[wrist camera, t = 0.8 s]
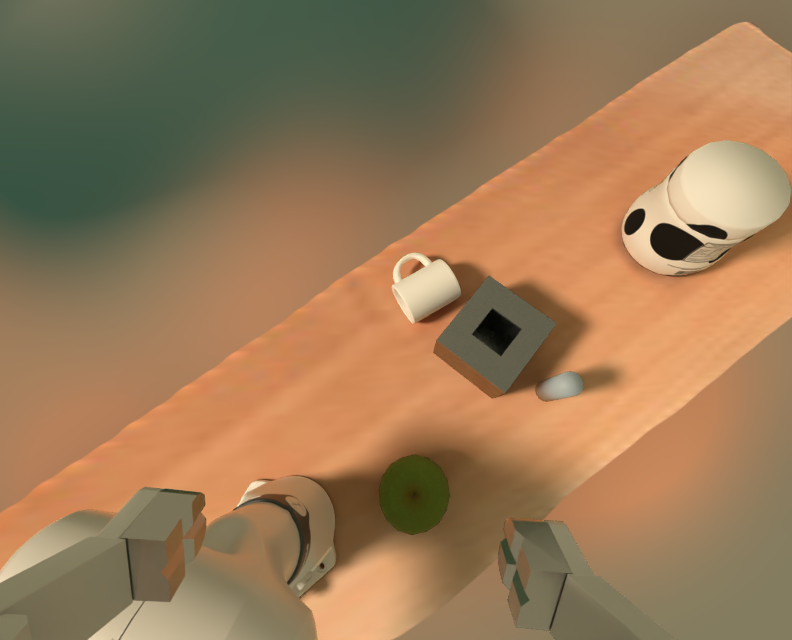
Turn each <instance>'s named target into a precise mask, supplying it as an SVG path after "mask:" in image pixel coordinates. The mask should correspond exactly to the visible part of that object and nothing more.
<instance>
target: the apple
mask: <svg viewBox="0 0 792 640" xmlns="http://www.w3.org/2000/svg"><path fill="white" fill-rule="evenodd" d="M449 497H450V494H449V488H448V481H447V479H446V477H445V475H444V473H443V471H442V469H441V468H440V467H439V466H438V465H437V464H435V463H434V462H433V461H431V460H430V459H429V458H425V457H422V456H419V455H411V456H407V457H402V458H401V459H399V460H397V461H396V462H394V463H392V464H391V465H390V466H389V467H388V469H387V470H386V472H385V473H384V474H383V476H382V479H381V484H380V488H379V498H380V507H381V509H382V511H383V513H384V515H385V518H386V520H387V521H388V522H390V523H391V524H392V525H393V526H394V527H395V528H396V529H397V530H398V531H401V532H404V533H408V534H411V535H414V534H418V533H422V532H426V531H428V530H429V529H431V528H432V527H434V526H435V525H437V524H438V523H439V522H440V520H441V519H442V517H443V515H444V514H445V512H446V511H447V506H448V501H449Z"/></svg>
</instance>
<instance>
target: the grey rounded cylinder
mask: <svg viewBox="0 0 792 640" xmlns="http://www.w3.org/2000/svg"><path fill="white" fill-rule="evenodd" d="M583 386H584V384H583V380H582V378H581V377H580V376H579V375H578V374H577V373H575V372H570V371H569V372H565V373H562V374H559V375H557V376H554V377H551V378H549V379H546V380H544V381H541V382H539V383H538V384H537V386H536V389H535V391H536V395H537V396H538V398H539V399H541V400H542V401H546V402H548V401H553V400H558V399H562V398H567V397H572V396H576V395H578V394H580V393H581V392H582V390H583Z"/></svg>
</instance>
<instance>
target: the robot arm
mask: <svg viewBox="0 0 792 640" xmlns="http://www.w3.org/2000/svg"><path fill="white" fill-rule="evenodd" d="M205 505H206V504H205V494H203V493H201V492H192V491H183V490H174V489H160V488H152V487H144V488H142V489H140V490H139V491H138V492H137V493H136V494H135V495H134V496H133V497H132V498H131V499H130V500H129V501H128V502H127V504H126V505H125V506H124V507H123V508H122V509H121V510H120V511H119V512H118V513H113V512H107V511H101V510H94V509H86V510H81V511H77V512H74V513H72V514H69V515H67V516H65V517H63V518H61V519H58V520H57V521H55V522H53V523H51V524H50V525H48V526H46V527H45V528H43V529H42V530H40V531H39V532H38V533H36V534H35V535H34V536H32V537H31V538H30V539H29V540H28V541H27V542H25V543H24V544H23V545H22V546H21V547H20V548H19V549H18V550H17V551H16V552H15V553H14V554H13V555H12V557H11V558H10V559H9V560H8V561H7V563H6V564H5V565H4V567H3V568H2V569H1V571H0V640H318V639H317V630H316V625H315V620H314V617H313V613H312V611H311V610H310V609H309V608H308V607H307V606H306V605H305V604H304V603H303V602H302V601H301V600H300V599H299V597H300V596H301V595H302V594H303V593H304V592H305V591H307V590H308V589H309V588H310V587H311V586H312V585H313V584H314V583H316V582H317V581H318V580H319V579H320V578H321V577H322V576H323V575H324V574H326V573H327V572H328V571H329V570H330V569H331V568H332V567H333V566H334V565H335V563H336V551H335V547H334V543H333V538H334V530H335V513H334V508H333V505H332V502H331V500H330V498H329V496H328V494H327V493H326V492H325V490H324V489H323V488H322V487H321V486H320V485H319V484H317V483H316V482H314V481H313V480H311V479H308V478H306V477H301V476H288V477H283V478H280V479H277V480H273V481H269V480H255V481H254V482H252V483H251V484H250V485H249V487H248V489H247V490H246V492H245V494H244V495H243V497H242V499H241V500H240V502H239V504H238V506H237V507H236V508H235V509H234V510H233V511H232V512H230V513H227V514H225V515H223V516H221V517H219V518H217V519H215V520H214V521H212V522H211V523H210V524H208V525H207V526H206V518H205V517H204V516H203V514H202V513H201V511H202V510H203V508H204V507H205ZM503 530H504V533H505V536H506V538H505V539H504V540H503V541H502V542H500V547H499V552H498V560H499V561H498V564H499V571H500V575H501V579H502V583H503V584H504V585H505V586H506V587H507V588H508V589H509V590H510V592H509V596H508V603H509V607H510V610H511V613H512V617H513V620H514V623H515V626H516V628H526V629H535V630H544V631H550V634H551V635H552V636H553V638H554V639H555V640H677V639H676V638H675V637H674V636H672V635H671V634H670V633H669V632H668V631H666V630H665V629H664V628H662V627H661V626H660V625H659V624H658V623H656V622H655V621H654V620H653V619H652V618H650V617H649V616H648V615H647V614H646V613H644V612H643V611H642V610H641V609H639V608H638V607H637V606H636V605H635V604H633V603H632V602H631V601H630V600H628V599H627V598H626V597H625V596H624V595H622V594H621V593H620V592H619V591H617V590H616V589H615V588H614V587H613V586H611V585H610V584H609V583H608V582H606V581H605V580H604V579H603V578H602V577H600V576H594V574H593V572H592V570H591V568H590V566H589V565H588V563H587V561H586V559H585V558H584V556H583V554H582V552H581V550H580V549H579V547H578V545H577V543H576V542H575V540H574V538H573V536H572V534H571V532H570V531H569V529H568V527H567V525H566V524H565V523H564V522H562V521H548V520H544V521H543V520H531V519H518V518H507V520H506V521H505V525H504V529H503ZM321 563H323V564H324V566H325V567H324V568H322V567H321V566H320V564H321Z"/></svg>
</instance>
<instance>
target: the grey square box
mask: <svg viewBox="0 0 792 640" xmlns="http://www.w3.org/2000/svg"><path fill="white" fill-rule="evenodd" d="M556 324H557V323H556V322H554V321H553V320H552V319H550V318H549V317H547V316H546V315H544V314H543V313H542V312H540V311H539V310H537V309H536V308H534V307H533V306H532V305H530V304H529V303H527V302H526V301H524V300H523V299H522V298H520V297H519V296H517V295H516V294H514V293H513V292H512V291H510V290H509V289H507V288H506V287H504V286H503V285H502V284H500V283H499V282H497V281H496V280H494V279H493V278H492V277H490V276H488V277H487V279H486V280H485V281H484V282H483V284H482V285H481V286H480V287H479V288H478V290H477V291H476V292H475V293H474V295H473V296H472V297H471V298H470V300H469V301H468V302H467V303H466V304H465V306H464V307H463V308H462V309H461V311H460V312H459V313H458V314H457V316H456V317H455V318H454V319H453V320H452V322H451V323H450V324H449V325H448V327H447V328H446V329H445V330H444V332H443V333H442V334H441V335H440V336H439V338H438V339H437V340H436V344H435V348H434V352H433V353H434V354H436V355H437V356H438V357H440V358H441V359H442V360H443V361H445V362H446V363H447V364H448V365H450V366H451V367H452V368H454V369H455V370H456V371H457V372H459V373H460V374H461V375H463V376H464V377H465V378H466V379H468V380H469V381H470V382H471V383H473V384H474V385H475V386H477V387H478V388H479V389H480V390H482V391H483V392H484V393H486V394H487V395H488V396H489V397H491V398H495V397H497V396H499V395H502V394H504V393H506V391H507V390H508V389H509V387H510V386H511V385H512V383H513V382H514V381H515V379H516V378H517V377H518V375H519V374H520V373H521V371H522V370H523V368H524V367H525V366H526V364H527V363H528V362H529V360H530V359H531V358H532V356H533V355H534V354H535V352H536V351H537V350H538V348H539V347H540V346H541V344H542V343H543V341H544V340H545V339H546V337H547V336H548V335H549V333H550V332H551V331H552V329H553V328H554V327H555V325H556Z"/></svg>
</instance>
